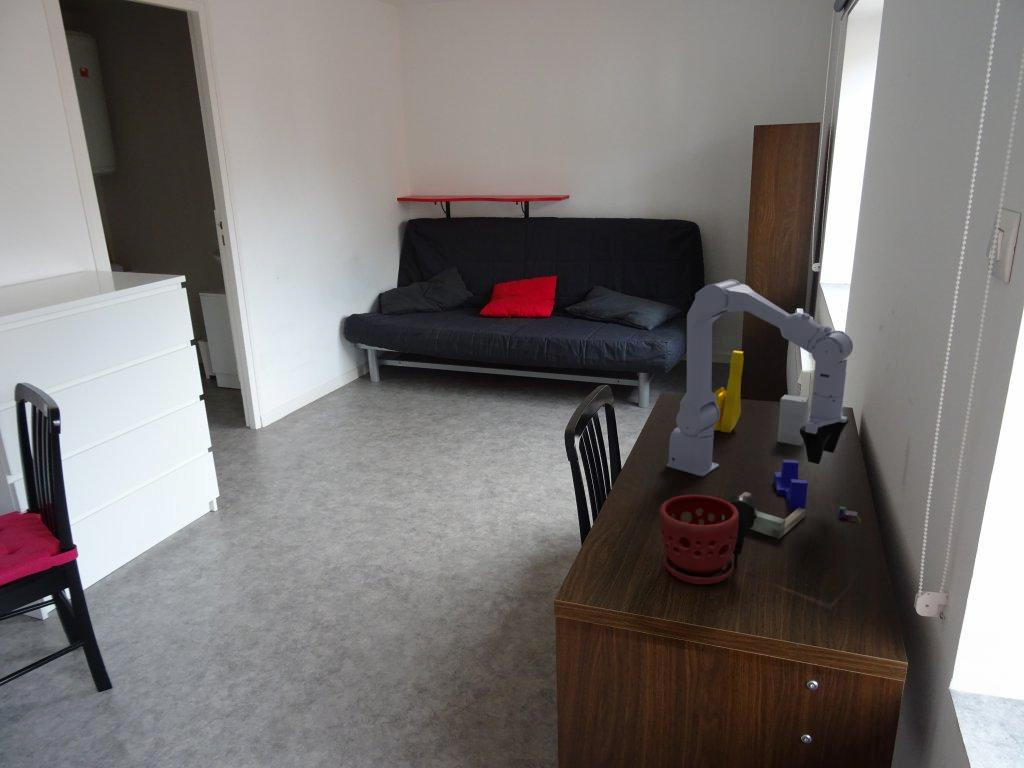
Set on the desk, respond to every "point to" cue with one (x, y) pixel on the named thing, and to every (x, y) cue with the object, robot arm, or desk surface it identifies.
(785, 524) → the channel
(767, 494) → the desk surface
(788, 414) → the skincare box
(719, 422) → the figure statuette
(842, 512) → the multicolored checkered block
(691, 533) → the plant pot
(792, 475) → the cable clip
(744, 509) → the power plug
